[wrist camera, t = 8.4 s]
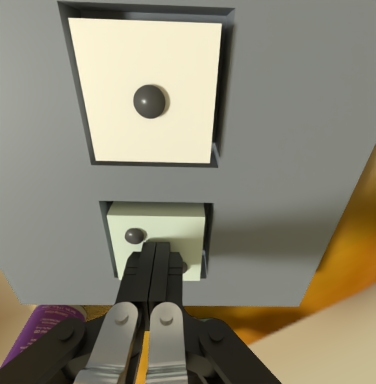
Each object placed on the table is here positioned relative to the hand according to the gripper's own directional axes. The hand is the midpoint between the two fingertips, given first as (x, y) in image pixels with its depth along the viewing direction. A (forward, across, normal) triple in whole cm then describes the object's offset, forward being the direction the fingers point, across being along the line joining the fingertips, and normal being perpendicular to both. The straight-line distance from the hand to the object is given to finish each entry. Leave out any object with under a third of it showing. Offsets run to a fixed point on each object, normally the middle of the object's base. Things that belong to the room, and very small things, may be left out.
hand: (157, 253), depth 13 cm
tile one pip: (+2, 0, -8) cm, 8 cm away
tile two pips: (+2, 0, 0) cm, 2 cm away
